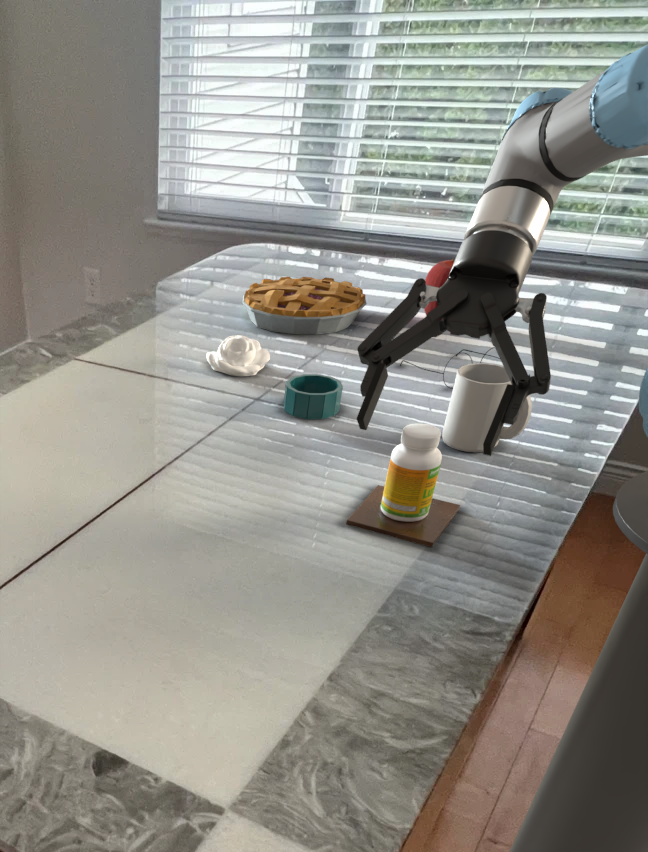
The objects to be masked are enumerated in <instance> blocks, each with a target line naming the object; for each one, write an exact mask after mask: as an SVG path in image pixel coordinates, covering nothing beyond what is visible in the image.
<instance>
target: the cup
mask: <svg viewBox="0 0 648 852" xmlns="http://www.w3.org/2000/svg"><path fill="white" fill-rule="evenodd" d="M507 384H511V381H510V379H509V377H508V375H507V373H506V370H505V368H504V366H503V365H500V364H495V363H487V362H486V363H485V362H484V363H482V362H481V363H480V362H478V363H477V362H476V363H473V364H472V363H469V364H468V363H467V364H464V365H462V366H459V368H458V369H457V372H456V375H455V380H454V384H453V387H452V388H453V389H452V392H451V395H450V399H449V404H448V408H447V411H446V412H447V413H446V415H445V419H444V424H443V428H442V432H441V438H442V441H443V443H444V444H445V445H446V446H448V447H449V448H452V449H455V450H458V451H461V452H467V453H483V443H484V441H485V438H486V436H487V433H488V431H489V428H490V426H491V423H492V421H493V418H494V416H495V414H496V411H497V409H498V406H499V404H500V401H501V399H502V396H503V394H504V391H505V389H506V386H507ZM511 385H512V384H511ZM532 409H533V402H532V397H531V395H528V396H527V397H526V399H525V401H524V403H523V406H522V408H521V411H520V413H519V415H518V418H517V421H516V422H515V423H514V424H513V425H511V424H510V426H504V425H505V423H504V424H503V427H502V429H501V432H500V434H499V437H498V439H497V442H496V444H495V447H496V446H497V445H499V441H500V440H512V439H514V438H516V437H518V436H519V435H520V434H521V433H522V432H523V431H524V430H525V429H526V427H527V426H528V424H529V421H530V419H531V415H532Z"/></svg>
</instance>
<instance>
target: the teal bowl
mask: <svg viewBox="0 0 648 852" xmlns="http://www.w3.org/2000/svg"><path fill="white" fill-rule="evenodd" d="M343 387H344V386H343V383H342V381H341V380H339V379H337V378H336V377H333V376H329V375H326V374H321V373H320V374H318V373H308V374H307V373H305V374H300V375H295V376H291V377H290V378H289V379H288V380H286V381H285V387H284V396H283V405H282V406H283V407H282V408H283V410H284V412H285V413H286V414H288V415H290V416H291V417H294V418H299V419H304V420H324V419H328V418H332V417H335V416H336V415H337V414H338V413H339V412H340V407H341V402H342V396H343Z"/></svg>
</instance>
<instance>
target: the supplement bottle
mask: <svg viewBox="0 0 648 852" xmlns="http://www.w3.org/2000/svg"><path fill="white" fill-rule="evenodd" d="M441 437H442V431H441V429H439V428H438V427H437V426H435V425H432V424H429V423H428V424H427V423H422V422H421V423H409V424H407V425H405V426H404V427H403V429H402V432H401V436H400V443H398V444H397V445H396V446H395V447H394V448H393V449H392V450H391V454H390V459H389V464H388V469H387V473H386V478H385V482H384V492H383V497H382V501H381V511H382V512H383V513H384V514H385V515H386V516H387V517H389V518H391V519H394V520H397V521H404V522H413V521H419V520H421V519H423V518H425V517H426V516H427V514H428V512H429V509H430V505H431V501H432V498H433V496H434V493H435V489H436V485H437V481H438V477H439V472H440V468H441V464H442V460H443V455H442V452H441V450H440V449H439V448H438V446H439V443H440V441H441Z"/></svg>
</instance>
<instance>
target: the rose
mask: <svg viewBox="0 0 648 852" xmlns="http://www.w3.org/2000/svg"><path fill="white" fill-rule="evenodd" d="M261 345H262V344H260V342H259V341H258V340H257V339H254V338H250V337H247V336H245V335H242V334H237V335H229V336H227V337H226V338H225V339H224V340H222V342H221V343H220V345H219V346H218V348H217V351H209V352H207V353H206V360H207V362H208V364H209V365H210V367H211V369H213V371H216V372H220V373H223V374H225V375H229V376H232V377H249V376H251V377H252V376H255V375H257V374H258V372H259V371H261V370H262V369H264V368H265V365H266V364H267V363H268V362H269V361H270V359H271V355H270V351H268V350H267V349H266V348H262V346H261Z"/></svg>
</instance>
